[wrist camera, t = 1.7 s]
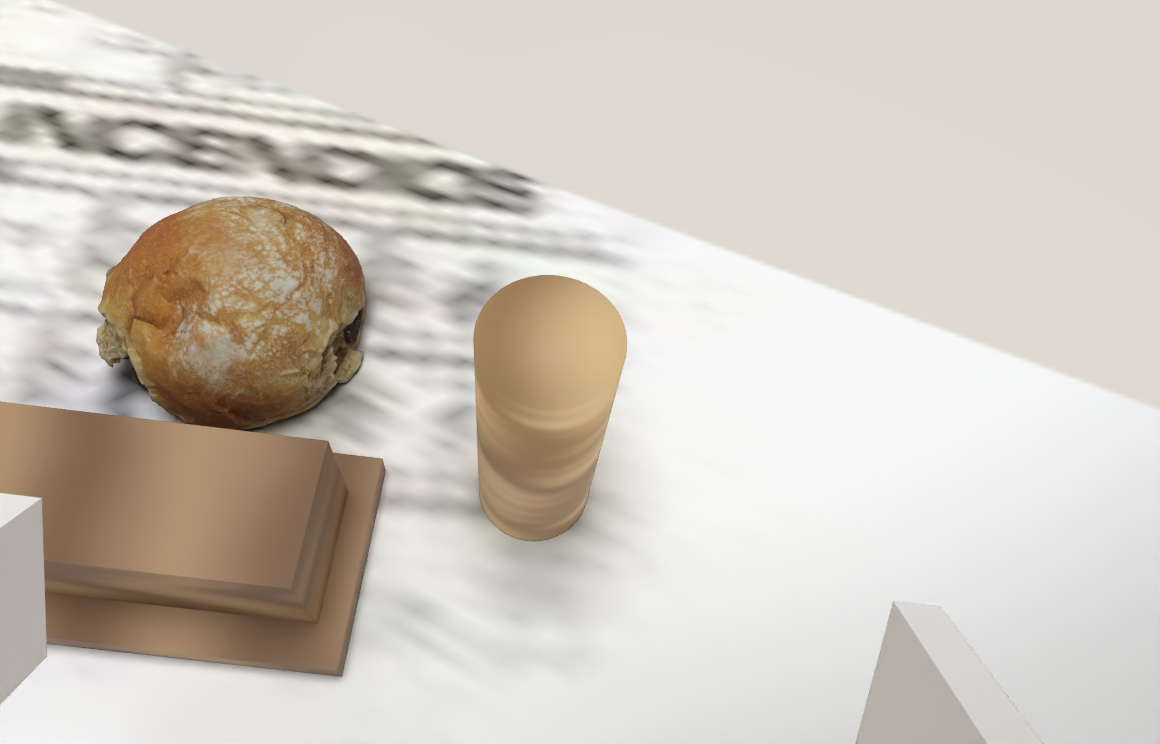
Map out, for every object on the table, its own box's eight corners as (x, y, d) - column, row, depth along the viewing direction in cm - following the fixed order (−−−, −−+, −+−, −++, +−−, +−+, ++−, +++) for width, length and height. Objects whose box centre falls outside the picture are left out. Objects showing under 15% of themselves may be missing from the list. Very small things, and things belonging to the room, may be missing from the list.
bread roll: (314, 478, 39) (373, 415, 33) (56, 417, 35) (68, 331, 29) (355, 291, 44) (412, 205, 38) (132, 217, 40) (156, 106, 33)
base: (385, 470, 36) (367, 404, 31) (341, 676, 32) (312, 642, 27) (-18, 422, 35) (-107, 347, 30) (-112, 625, 31) (-232, 580, 26)
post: (592, 444, 37) (632, 285, 27) (582, 546, 35) (621, 417, 24) (487, 432, 37) (485, 266, 26) (471, 534, 35) (462, 397, 24)
